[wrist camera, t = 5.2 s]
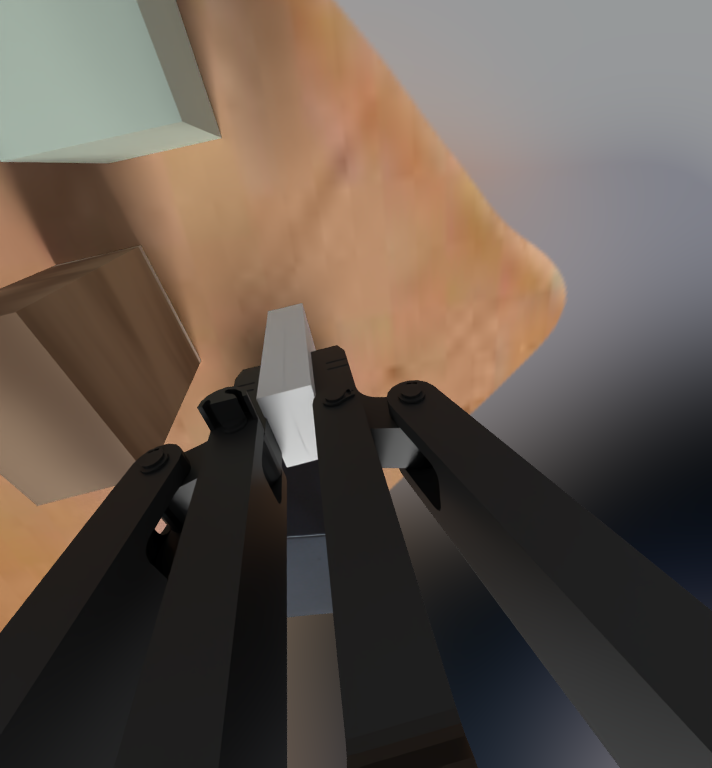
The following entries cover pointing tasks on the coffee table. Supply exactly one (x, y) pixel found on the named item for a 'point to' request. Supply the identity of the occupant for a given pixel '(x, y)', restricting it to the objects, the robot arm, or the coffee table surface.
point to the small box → (306, 543)
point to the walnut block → (87, 373)
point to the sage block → (98, 81)
